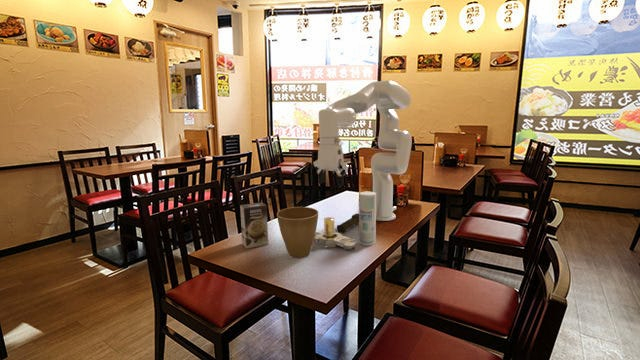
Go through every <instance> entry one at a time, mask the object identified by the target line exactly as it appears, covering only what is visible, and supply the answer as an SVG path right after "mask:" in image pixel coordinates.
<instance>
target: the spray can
mask: <svg viewBox="0 0 640 360" xmlns="http://www.w3.org/2000/svg"><path fill="white" fill-rule="evenodd" d="M358 193H359V194H358V197H359V198H358V201H359V202H358V209H359V210H358V212H359V213H358V214H359V223H358V225H359V227H358V229H359V244H361V245H363V246H374V245H375V244H376V237H377V235H376V233H377V232H376V229H377V227H376V226H377V220H376V193H375V192H373V191H370V190H369V191H366V190H365V191H360V192H358Z"/></svg>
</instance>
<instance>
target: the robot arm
mask: <svg viewBox="0 0 640 360" xmlns="http://www.w3.org/2000/svg"><path fill="white" fill-rule="evenodd" d="M411 99H412V98H411V94H410V93H409V91H408V90H407V89H406V88H404V86H401V85H400V84H398V83H397V82H395V81H392V80H389V79H388V80H383V81H382V80H380V81H372V82H370V83H369V84H367V85H365V86H364V87H363V88H361V89H360V90H359V91H357V92H355V93H353V94H350V95H349V96H346V97H345V98H341V99H339V100H336V101H335V102H333V103H332V104H330V105H329V106H327V107H326V108H323V109H320V110H319V111H318V130H319V132H318V134H319V145H318V150H317V151H318V152H317V159H316V160H315V161H313V166H314V170H315V171H316V173H317V175H318V184H324V183H326V173H325V171H327V172H328V171H331V172H335V173H336V175H337V177H336V182H337V187H339V188H340V187H342V186H344V184H345V178H344V177H345V176H346V174H347V172H348V170H349V167H350V166H349V164H348V163H346V162H345V161H344V152H343V147H342V144H340V143H341V142H342V140H341V138H340V131H339V129H340V128H348V127H351V126H353V125H354V124H355V122H356V120H357V114H361V113H364V112H367V111H368V110H369V109H371V108H372V107H373V106H374V105H375V107H376V109H377V110H378V112H379V115H380V120H381V121H380V128H379V131H378V132H379V133H378V137H377V145H378V149H381V150H384V151H394V152H396V153H393V152H383V151H382V152H376V153H375V154H373V155H372V156H371V159H370V168H371V172H372V174H371V175H372V192H375V193H376V221H381V222H382V221H383V222H385V221H387V222H388V221H393V220H395V219H396V217H397V216H396V214H395V213H394V211H397V206H395V205H394V206H393V203H394V201H393V197H394V196H393V195H394V181H393V177H392V175H403V174H405V173H406V172H407V170H408V168H409V167H408V166H409V163H410V157H411V150H412V144H413V142H412V141H413V138H412V135H411V133H410V132H409V131H407V130H401V129H400V128H399V126H400V118H399V116H398V114H397V112H396V111H395V110H405V109H407V108H409V106H410V104H411ZM399 129H400V130H399Z"/></svg>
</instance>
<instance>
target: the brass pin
mask: <svg viewBox="0 0 640 360" xmlns="http://www.w3.org/2000/svg"><path fill="white" fill-rule="evenodd" d="M323 222H324V223H323V227H324V228H323V230H324V231H323V233H324V237H325V238H335V235H334V232H335V218H334V217H329V216H328V217H327V216H326V217H324V218H323Z"/></svg>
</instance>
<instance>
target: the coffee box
mask: <svg viewBox="0 0 640 360" xmlns="http://www.w3.org/2000/svg"><path fill="white" fill-rule="evenodd" d="M239 206H240V207H239V209H240V222H241V223H240V226H241V243H242V246H244V247H245V249H251V248H256V247H261V246H262V247H263V246H266V245H269V233H268V210H267V208H268V207H267V205H266V204H265V203H264V202H254V203H253V202H252V203H247V204H240V205H239Z"/></svg>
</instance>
